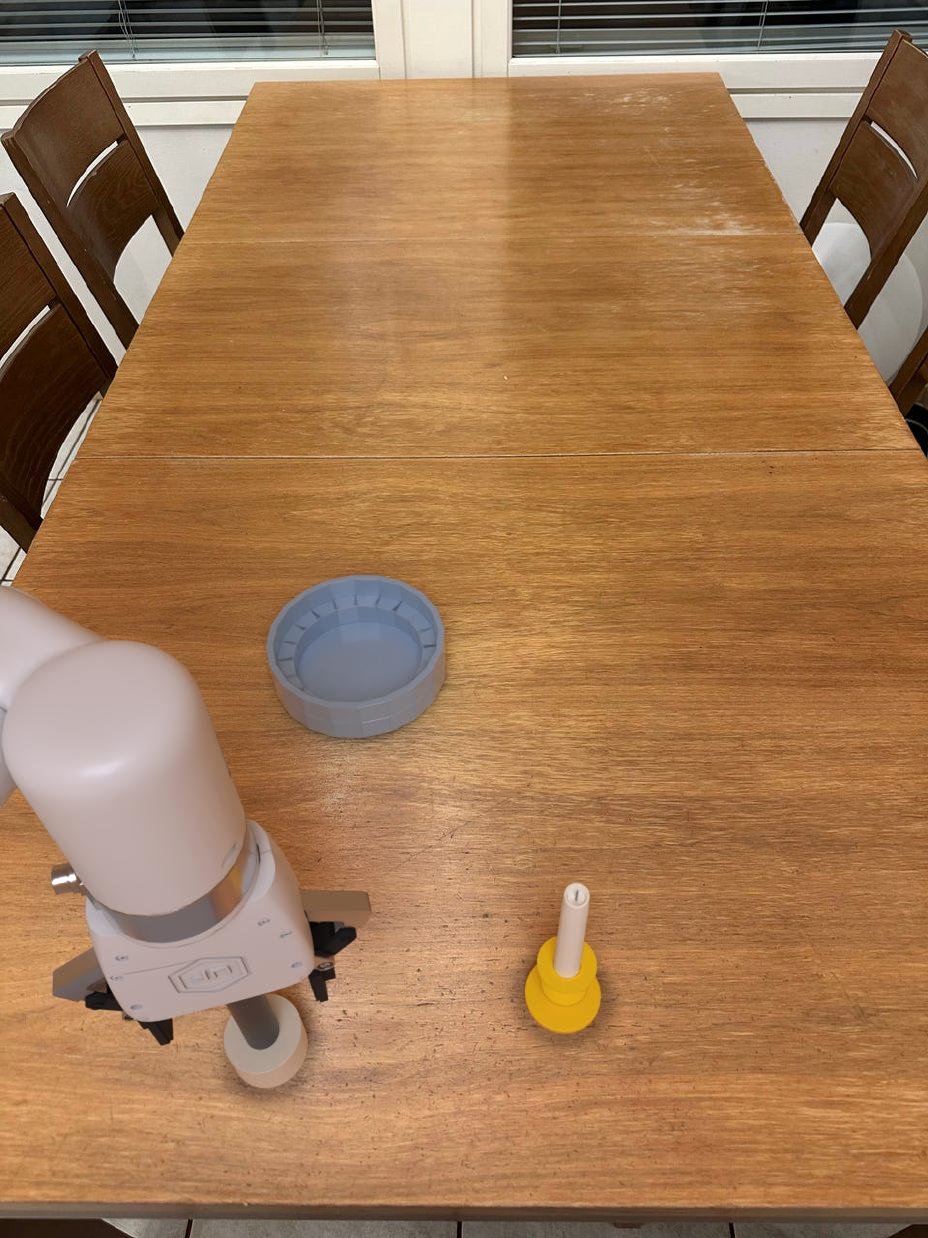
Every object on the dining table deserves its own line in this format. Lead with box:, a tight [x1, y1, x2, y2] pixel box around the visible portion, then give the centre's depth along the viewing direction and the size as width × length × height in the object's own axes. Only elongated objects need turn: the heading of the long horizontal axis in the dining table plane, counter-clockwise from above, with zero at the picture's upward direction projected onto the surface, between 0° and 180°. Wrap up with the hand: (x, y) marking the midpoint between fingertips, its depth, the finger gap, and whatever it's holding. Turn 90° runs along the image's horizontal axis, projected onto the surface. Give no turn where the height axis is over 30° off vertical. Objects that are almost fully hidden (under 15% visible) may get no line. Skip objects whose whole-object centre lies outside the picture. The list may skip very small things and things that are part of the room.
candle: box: [524, 882, 602, 1035], centre depth 59 cm, size 5×5×16 cm
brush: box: [223, 993, 309, 1089], centre depth 58 cm, size 5×5×13 cm
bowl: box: [265, 574, 447, 739], centre depth 83 cm, size 15×15×5 cm
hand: (243, 998), depth 57 cm, fingers open, 8 cm apart
